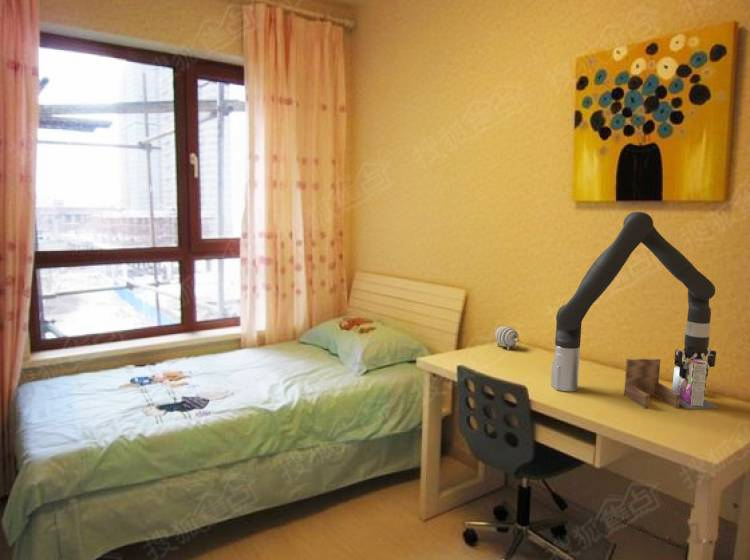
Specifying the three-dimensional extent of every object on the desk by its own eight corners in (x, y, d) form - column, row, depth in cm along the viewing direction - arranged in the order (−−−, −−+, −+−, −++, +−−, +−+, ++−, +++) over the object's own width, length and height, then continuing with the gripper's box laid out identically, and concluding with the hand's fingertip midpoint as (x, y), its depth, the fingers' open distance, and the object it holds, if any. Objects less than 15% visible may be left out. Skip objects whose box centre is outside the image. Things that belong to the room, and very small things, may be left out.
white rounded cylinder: (679, 395, 196) (681, 372, 195) (668, 388, 203) (670, 366, 202) (697, 394, 197) (699, 372, 195) (685, 388, 204) (687, 366, 202)
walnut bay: (644, 408, 183) (647, 370, 181) (624, 394, 197) (626, 358, 195) (678, 408, 184) (682, 370, 182) (655, 393, 198) (658, 358, 196)
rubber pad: (685, 409, 183) (685, 407, 183) (665, 396, 195) (665, 395, 194) (718, 408, 183) (718, 407, 183) (696, 396, 195) (696, 394, 195)
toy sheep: (502, 342, 271) (502, 322, 269) (526, 350, 257) (527, 328, 255) (487, 345, 266) (488, 324, 264) (511, 353, 251) (512, 331, 250)
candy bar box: (676, 395, 195) (680, 353, 192) (691, 395, 194) (694, 353, 191) (689, 406, 184) (693, 361, 181) (704, 407, 183) (708, 362, 181)
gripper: (684, 336, 181) (680, 381, 183) (724, 336, 182) (719, 381, 184) (671, 331, 189) (667, 374, 191) (709, 331, 189) (705, 374, 192)
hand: (693, 377), depth 187 cm, fingers open, 7 cm apart
